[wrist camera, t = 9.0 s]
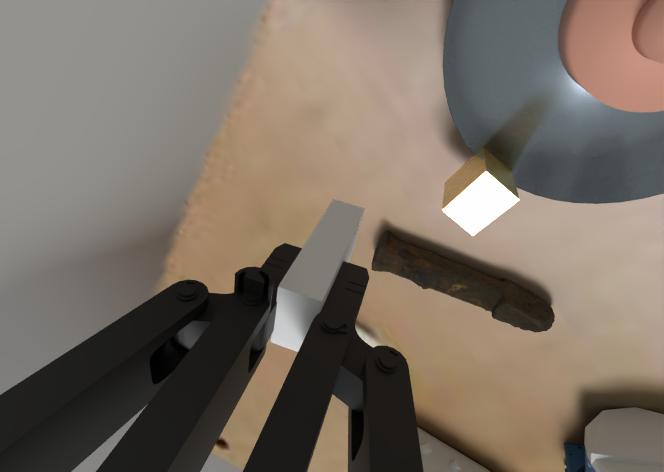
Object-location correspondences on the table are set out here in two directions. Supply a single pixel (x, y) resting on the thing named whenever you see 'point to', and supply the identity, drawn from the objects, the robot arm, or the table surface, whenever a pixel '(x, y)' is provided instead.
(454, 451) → the radio
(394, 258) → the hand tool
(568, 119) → the turntable
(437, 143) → the table surface
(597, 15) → the cover
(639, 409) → the valve
